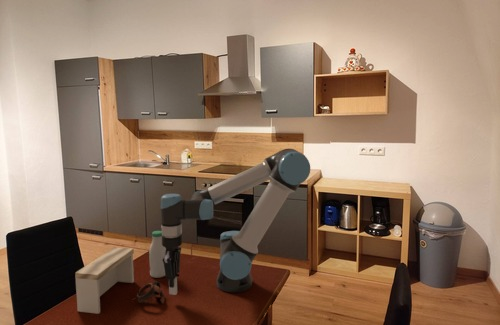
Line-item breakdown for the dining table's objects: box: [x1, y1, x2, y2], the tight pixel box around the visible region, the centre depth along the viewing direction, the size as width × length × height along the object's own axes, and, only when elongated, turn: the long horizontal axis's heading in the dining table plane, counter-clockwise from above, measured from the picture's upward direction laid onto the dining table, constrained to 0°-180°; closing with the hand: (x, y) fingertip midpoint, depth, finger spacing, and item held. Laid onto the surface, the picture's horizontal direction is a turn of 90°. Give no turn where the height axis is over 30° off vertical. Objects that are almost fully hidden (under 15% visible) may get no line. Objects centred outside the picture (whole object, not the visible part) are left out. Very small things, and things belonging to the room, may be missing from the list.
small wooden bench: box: [74, 246, 135, 315], centre depth 149 cm, size 9×26×15 cm, turn 169°
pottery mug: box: [136, 280, 166, 305], centre depth 146 cm, size 12×10×8 cm
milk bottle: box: [148, 230, 166, 279], centre depth 168 cm, size 8×8×20 cm
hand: (173, 293), depth 144 cm, fingers closed
